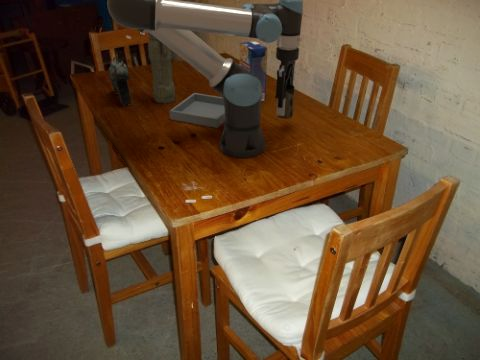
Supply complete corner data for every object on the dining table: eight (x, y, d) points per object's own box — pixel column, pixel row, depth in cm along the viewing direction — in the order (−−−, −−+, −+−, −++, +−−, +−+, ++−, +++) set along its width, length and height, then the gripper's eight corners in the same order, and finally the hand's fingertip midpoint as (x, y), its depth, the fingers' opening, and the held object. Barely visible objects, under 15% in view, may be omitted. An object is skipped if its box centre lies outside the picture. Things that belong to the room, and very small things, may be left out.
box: (217, 128, 153) (217, 119, 151) (170, 119, 159) (169, 110, 157) (238, 108, 168) (238, 99, 166) (194, 100, 174) (194, 92, 172)
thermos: (162, 106, 169) (153, 16, 150) (148, 98, 177) (138, 11, 158) (181, 101, 174) (174, 13, 154) (167, 93, 181) (158, 8, 162)
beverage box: (253, 91, 183) (254, 41, 171) (265, 100, 175) (267, 47, 163) (239, 94, 181) (239, 42, 169) (251, 103, 172) (251, 49, 160)
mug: (295, 116, 150) (299, 84, 143) (284, 120, 147) (286, 87, 140) (281, 109, 155) (284, 78, 149) (270, 112, 152) (272, 81, 146)
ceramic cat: (134, 106, 169) (127, 57, 158) (118, 109, 167) (110, 59, 156) (124, 90, 184) (117, 44, 174) (109, 92, 182) (101, 46, 171)
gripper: (290, 55, 129) (285, 123, 141) (306, 41, 143) (299, 104, 156) (268, 52, 131) (264, 120, 144) (285, 39, 146) (280, 101, 158)
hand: (282, 111), depth 150 cm, fingers closed on mug, 5 cm apart
